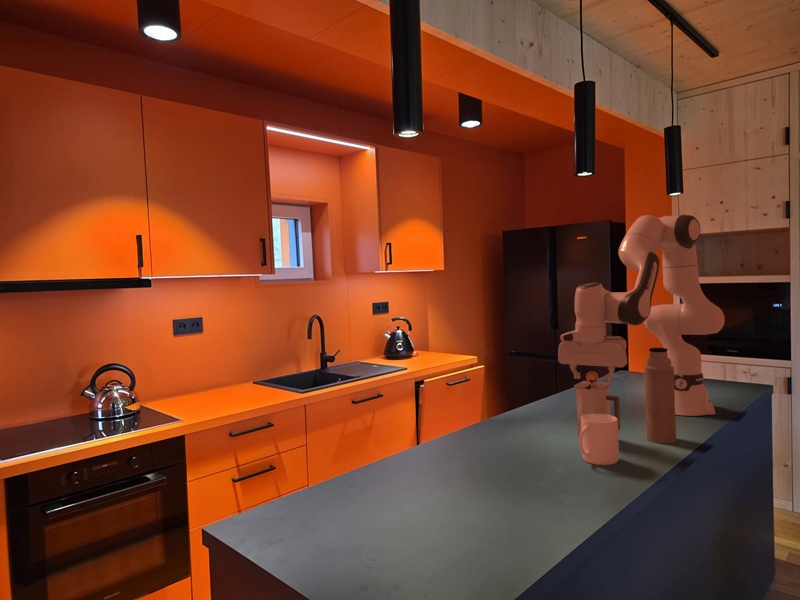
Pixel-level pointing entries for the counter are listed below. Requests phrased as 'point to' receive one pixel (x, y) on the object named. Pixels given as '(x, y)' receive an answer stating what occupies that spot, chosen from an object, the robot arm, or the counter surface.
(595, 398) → the press carafe
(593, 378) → the copper ball on rod
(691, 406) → the robot arm
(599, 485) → the counter surface
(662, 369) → the thermos bottle
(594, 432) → the mug
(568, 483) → the counter surface
